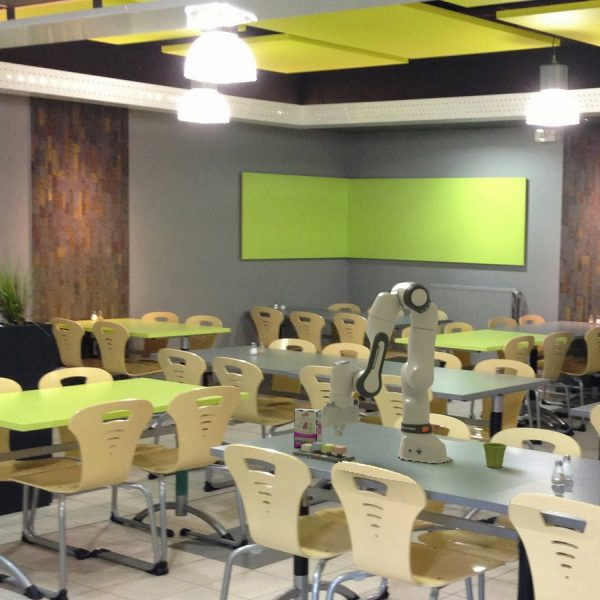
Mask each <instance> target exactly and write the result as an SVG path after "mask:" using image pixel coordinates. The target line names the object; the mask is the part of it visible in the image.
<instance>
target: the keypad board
mask: <svg viewBox="0 0 600 600" xmlns="http://www.w3.org/2000/svg"><path fill="white" fill-rule="evenodd" d="M293 454H294V456H298V455H301V456H300V457H303V456H307V457H306V458H308V457H311V458H310V459H314V458H316V459H315V460H319V459H321V460H320V461H324V460H325V461H324V462H330V461H331V463H336V462H338V461H343V460H349V461H352V460H355V459H356V458H355V457H356V455H350V454H346V453H344V454H342V456H338V455H337V454H336V453H333V452H332V453H331V454H327V453H326V452H325V451H322V450H321V452H316V450H315V451H312V452H310V453H309V452H305V451H301V449H299V450H295V451H292V455H293ZM336 464H337V463H336Z"/></svg>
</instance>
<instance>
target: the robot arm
mask: <svg viewBox="0 0 600 600" xmlns="http://www.w3.org/2000/svg"><path fill="white" fill-rule="evenodd" d="M402 310H409V311H410V312H409V313H410V317H411V321H410V326H409V330H408V331H409V333H408V339H407V362H405V363H404V364H403V365H402V366H401V369H400V387H401V398H402V416H401V417H402V421H401V422H400V432H401V435H400V436H401V437H400V438H401V439H400V445H399V449H398V453H397V455H396V456H397V457H398V458H399V457H400V458H399V460H401V459H405V460H404V461H408V460H412V461H411V462H415V461H420V462H419V463H423V462H427V463H426V464H431V463H437V464H442V463H443V462H445V463H447V461H449V462H451V461H452V460H453V456H449V455H447V447H446V444H445V443H444V442H443V441H442V440H441V439H440V438H439V437H438V436H437V434H435V433H434V429H436V428H435V427H436V426H435V425H432V424H431V423H430V416H431V415H430V413H431V407H430V406H431V403H430V402H431V401H430V396H429V388H431V387H432V385H433V384H434V381H435V349H436V341H437V336H438V335H437V334H438V328H439V327H438V326H439V309H438V306H437V305H436V303H434V302H432V301H431V298H430V293H429V291H428V289H427V287H425V286H424V285H422V284H421V283H417V282H413V281H399V282H397V283H395V284H394V285H393V286H391V289H389V290H388V291H384V292H380V293H378V295H377V296H376V298H375V299H374V301H373V304H372V306H371V308H370V311H369V314H368V316H367V320H366V326H365V333H366V336H367V338H368V340H369V343H370V344H369V345H370V350H369V355H368V359H367V362H366V366H365V369H364V368H362V367H359V366H357V365H356V364H354V363H353V362H352V361H351V360H339V361H336V362H334V363H333V364H332V366H331V370H330V377H329V378H330V379H329V385H330V390H329V402H327V403H325V405H323V407H322V409H321V410H322V414H321V425H322V427H324V428H325V427H326V428H329V427H333V430H334V436H335V437H341V436H343V435H344V431H345V428H346V425H349V424H354V423H355V424H356V423H357V422H358V421H359V416H360V415H359V414H360V408H359V405H360V399H357V398H355V397H352V396H353V395H352V394H353V392H354V393H357V394H358V395H360V396H361V397H363V398H366V399H372V398H375V397H377V396H378V395H379V394H380V392H381V391H382V389H383V379H382V378H383V377H382V372H383V368H384V364H385V361H386V356H387V352H388V348H389V343H390V342H391V341H390V340H391V337H392V334H393V330H394V328H395V324H396V322H397V318H398V315H399V314H400V312H401V311H402ZM450 460H451V461H450Z"/></svg>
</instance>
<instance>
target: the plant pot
mask: <svg viewBox="0 0 600 600" xmlns="http://www.w3.org/2000/svg"><path fill="white" fill-rule="evenodd" d="M482 446H483V449H484V454H485V455H484V456H485V462H486V464H485V465H486V467H487V466H488V468H495V469H499V467H500V468H503V464H504V459H505V458H504V457H505V452H506V450H507V449H506V448H507V446H508V444H505V443H500V442H485V443H482Z"/></svg>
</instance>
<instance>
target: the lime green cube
mask: <svg viewBox="0 0 600 600" xmlns="http://www.w3.org/2000/svg"><path fill="white" fill-rule="evenodd" d="M333 446H337V444H333V443H326V444H323V445H322V451H325V452H326V453H327V454H331V453H332V452H333Z"/></svg>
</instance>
